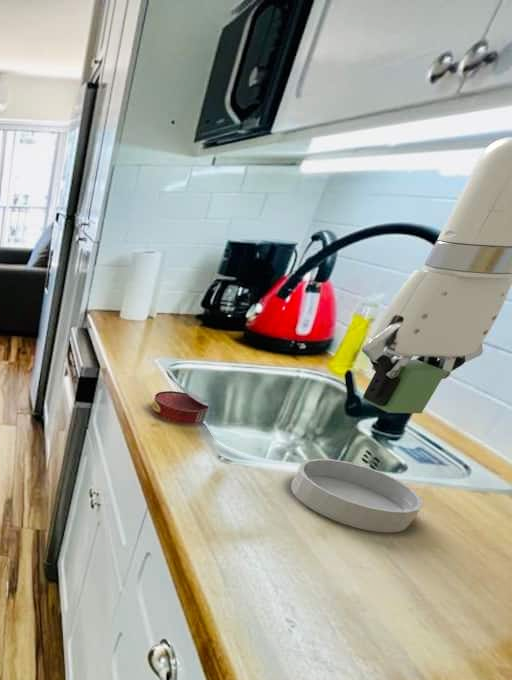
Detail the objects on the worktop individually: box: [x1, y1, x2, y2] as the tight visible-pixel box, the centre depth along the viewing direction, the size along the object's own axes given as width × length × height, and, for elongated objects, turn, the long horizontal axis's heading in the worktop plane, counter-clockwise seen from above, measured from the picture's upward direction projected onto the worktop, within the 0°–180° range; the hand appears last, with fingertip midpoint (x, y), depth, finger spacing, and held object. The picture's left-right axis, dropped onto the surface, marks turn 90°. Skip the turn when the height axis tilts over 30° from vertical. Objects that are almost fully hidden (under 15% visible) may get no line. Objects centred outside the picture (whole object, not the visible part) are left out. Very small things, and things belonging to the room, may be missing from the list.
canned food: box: [150, 370, 210, 426], centre depth 97 cm, size 11×10×10 cm
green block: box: [362, 358, 446, 414], centre depth 64 cm, size 4×4×6 cm
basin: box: [290, 458, 424, 533], centre depth 71 cm, size 14×14×4 cm
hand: (393, 401), depth 65 cm, fingers closed on green block, 4 cm apart
